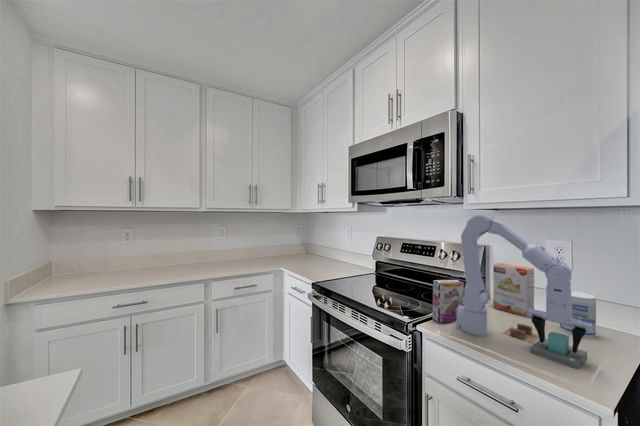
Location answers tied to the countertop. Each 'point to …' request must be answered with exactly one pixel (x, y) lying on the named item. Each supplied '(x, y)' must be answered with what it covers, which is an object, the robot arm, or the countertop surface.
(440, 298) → the candy bar box
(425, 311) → the countertop surface
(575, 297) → the supplement tub
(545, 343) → the port
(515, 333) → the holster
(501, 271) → the cracker box
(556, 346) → the plug
